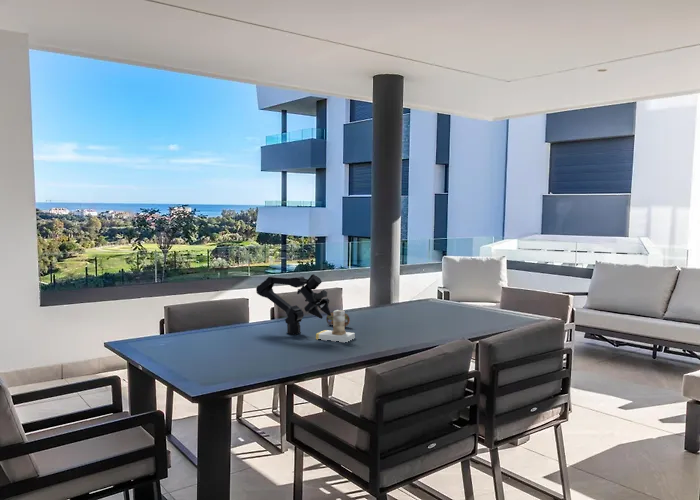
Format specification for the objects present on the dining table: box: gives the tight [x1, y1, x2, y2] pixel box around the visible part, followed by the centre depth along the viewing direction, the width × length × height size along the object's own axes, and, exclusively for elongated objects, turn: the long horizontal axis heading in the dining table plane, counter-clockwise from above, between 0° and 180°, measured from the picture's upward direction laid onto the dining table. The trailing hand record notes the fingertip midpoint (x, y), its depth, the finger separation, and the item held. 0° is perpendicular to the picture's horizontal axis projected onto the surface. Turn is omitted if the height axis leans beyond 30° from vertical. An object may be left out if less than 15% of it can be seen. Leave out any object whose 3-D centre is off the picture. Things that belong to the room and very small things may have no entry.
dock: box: [315, 329, 356, 343], centre depth 290 cm, size 18×11×3 cm, turn 67°
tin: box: [326, 311, 351, 327], centre depth 324 cm, size 15×3×8 cm, turn 62°
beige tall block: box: [331, 309, 347, 335], centre depth 289 cm, size 6×6×12 cm
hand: (326, 316), depth 292 cm, fingers open, 9 cm apart
